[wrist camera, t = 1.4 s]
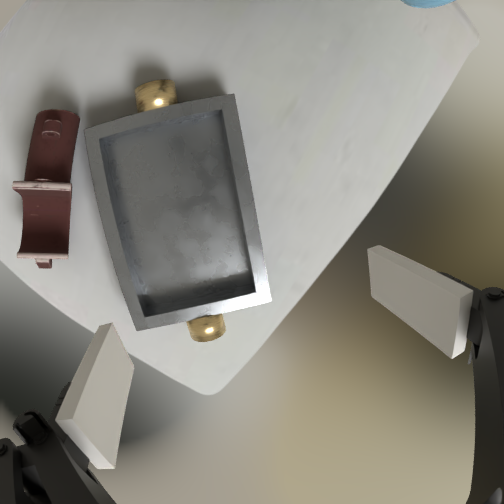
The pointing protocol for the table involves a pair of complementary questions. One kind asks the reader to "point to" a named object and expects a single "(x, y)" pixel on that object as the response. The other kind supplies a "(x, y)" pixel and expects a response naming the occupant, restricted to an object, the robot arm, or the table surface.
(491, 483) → the robot arm
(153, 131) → the cradle
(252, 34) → the table surface
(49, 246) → the bracket
